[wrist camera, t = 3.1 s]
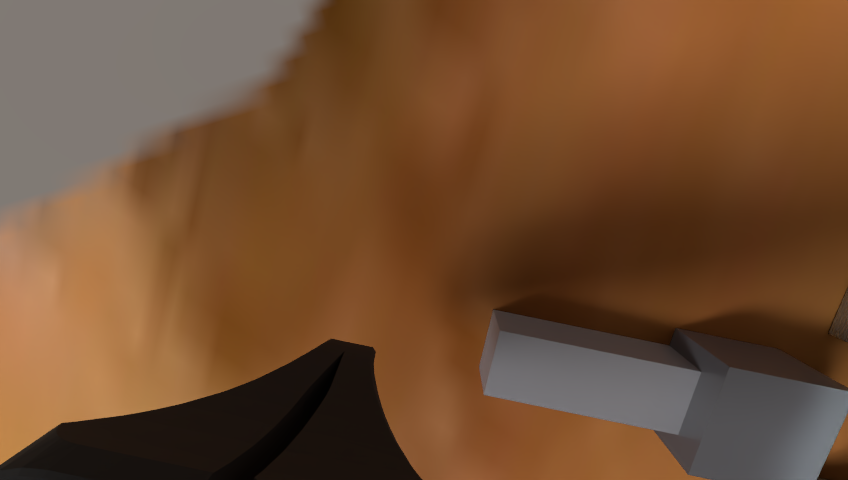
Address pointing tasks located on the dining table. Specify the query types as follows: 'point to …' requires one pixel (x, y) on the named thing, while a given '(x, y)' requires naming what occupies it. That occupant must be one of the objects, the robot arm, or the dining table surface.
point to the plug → (676, 393)
